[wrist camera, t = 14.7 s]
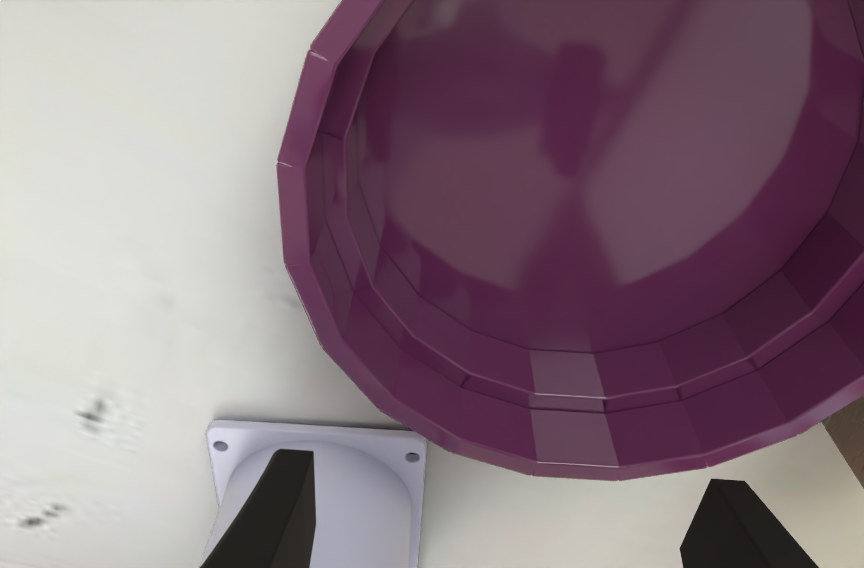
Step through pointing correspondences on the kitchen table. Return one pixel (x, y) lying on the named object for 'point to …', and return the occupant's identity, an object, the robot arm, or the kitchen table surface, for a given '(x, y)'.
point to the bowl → (585, 223)
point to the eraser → (849, 435)
